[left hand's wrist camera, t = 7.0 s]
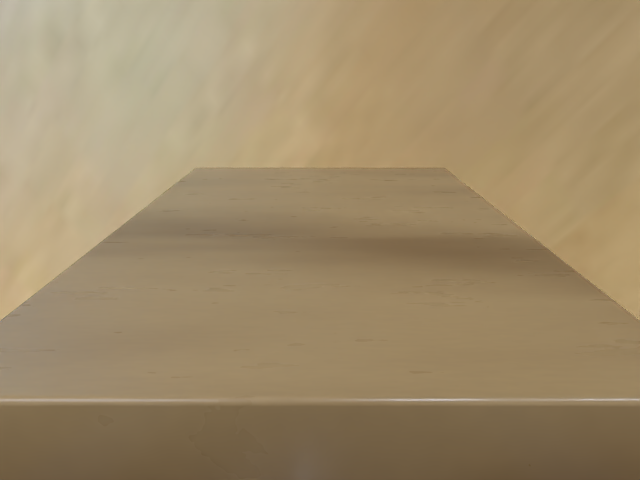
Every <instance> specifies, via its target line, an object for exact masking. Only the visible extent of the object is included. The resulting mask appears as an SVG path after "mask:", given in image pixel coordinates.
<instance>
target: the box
mask: <svg viewBox="0 0 640 480" xmlns="http://www.w3.org/2000/svg"><path fill="white" fill-rule="evenodd" d="M0 480H640V321H639V320H638V319H637V318H635V317H634V316H633V315H631V314H630V313H629V312H628V311H626V310H625V309H624V308H623V307H621V306H620V305H619V304H617V303H616V302H615V301H614V300H612V299H611V298H610V297H609V296H607V295H606V294H605V293H603V292H602V291H601V290H600V289H598V288H597V287H596V286H594V285H593V284H592V283H591V282H589V281H588V280H587V279H586V278H584V277H583V276H582V275H580V274H579V273H578V272H577V271H575V270H574V269H573V268H572V267H570V266H569V265H568V264H566V263H565V262H564V261H563V260H561V259H560V258H559V257H557V256H556V255H555V254H554V253H552V252H551V251H550V250H549V249H547V248H546V247H545V246H543V245H542V244H541V243H540V242H538V241H537V240H536V239H535V238H533V237H532V236H531V235H529V234H528V233H527V232H526V231H524V230H523V229H522V228H520V227H519V226H518V225H517V224H515V223H514V222H513V221H512V220H510V219H509V218H508V217H506V216H505V215H504V214H503V213H501V212H500V211H499V210H497V209H496V208H495V207H494V206H492V205H491V204H490V203H489V202H487V201H486V200H485V199H483V198H482V197H481V196H480V195H478V194H477V193H476V192H475V191H473V190H472V189H471V188H469V187H468V186H467V185H466V184H464V183H463V182H462V181H460V180H459V179H458V178H457V177H455V176H454V175H453V174H452V173H450V172H449V171H448V170H446V169H445V168H195V169H194V170H193V171H191V172H190V173H189V174H187V175H186V176H185V177H184V178H182V179H181V180H180V181H178V182H177V183H176V184H175V185H173V186H172V187H171V188H170V189H168V190H167V191H166V192H164V193H163V194H162V195H161V196H159V197H158V198H157V199H155V200H154V201H153V202H152V203H150V204H149V205H148V206H147V207H145V208H144V209H143V210H141V211H140V212H139V213H138V214H136V215H135V216H134V217H132V218H131V219H130V220H129V221H127V222H126V223H125V224H124V225H122V226H121V227H120V228H118V229H117V230H116V231H115V232H113V233H112V234H111V235H110V236H108V237H107V238H106V239H104V240H103V241H102V242H101V243H99V244H98V245H97V246H95V247H94V248H93V249H92V250H90V251H89V252H88V253H87V254H85V255H84V256H83V257H81V258H80V259H79V260H78V261H76V262H75V263H74V264H72V265H71V266H70V267H69V268H67V269H66V270H65V271H64V272H62V273H61V274H60V275H58V276H57V277H56V278H55V279H53V280H52V281H51V282H49V283H48V284H47V285H46V286H44V287H43V288H42V289H41V290H39V291H38V292H37V293H35V294H34V295H33V296H32V297H30V298H29V299H28V300H26V301H25V302H24V303H23V304H21V305H20V306H19V307H18V308H16V309H15V310H14V311H12V312H11V313H10V314H9V315H7V316H6V317H5V318H3V319H2V320H1V321H0Z"/></svg>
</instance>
